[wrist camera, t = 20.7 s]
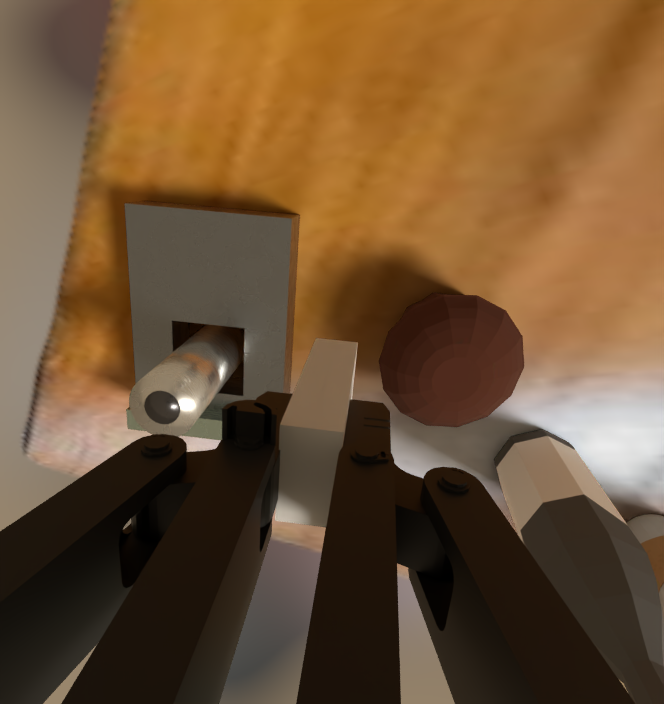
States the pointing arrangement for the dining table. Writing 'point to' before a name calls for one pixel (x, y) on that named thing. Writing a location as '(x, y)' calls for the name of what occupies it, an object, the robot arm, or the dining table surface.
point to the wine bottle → (587, 556)
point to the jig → (213, 292)
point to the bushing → (187, 380)
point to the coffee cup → (652, 545)
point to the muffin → (451, 359)
